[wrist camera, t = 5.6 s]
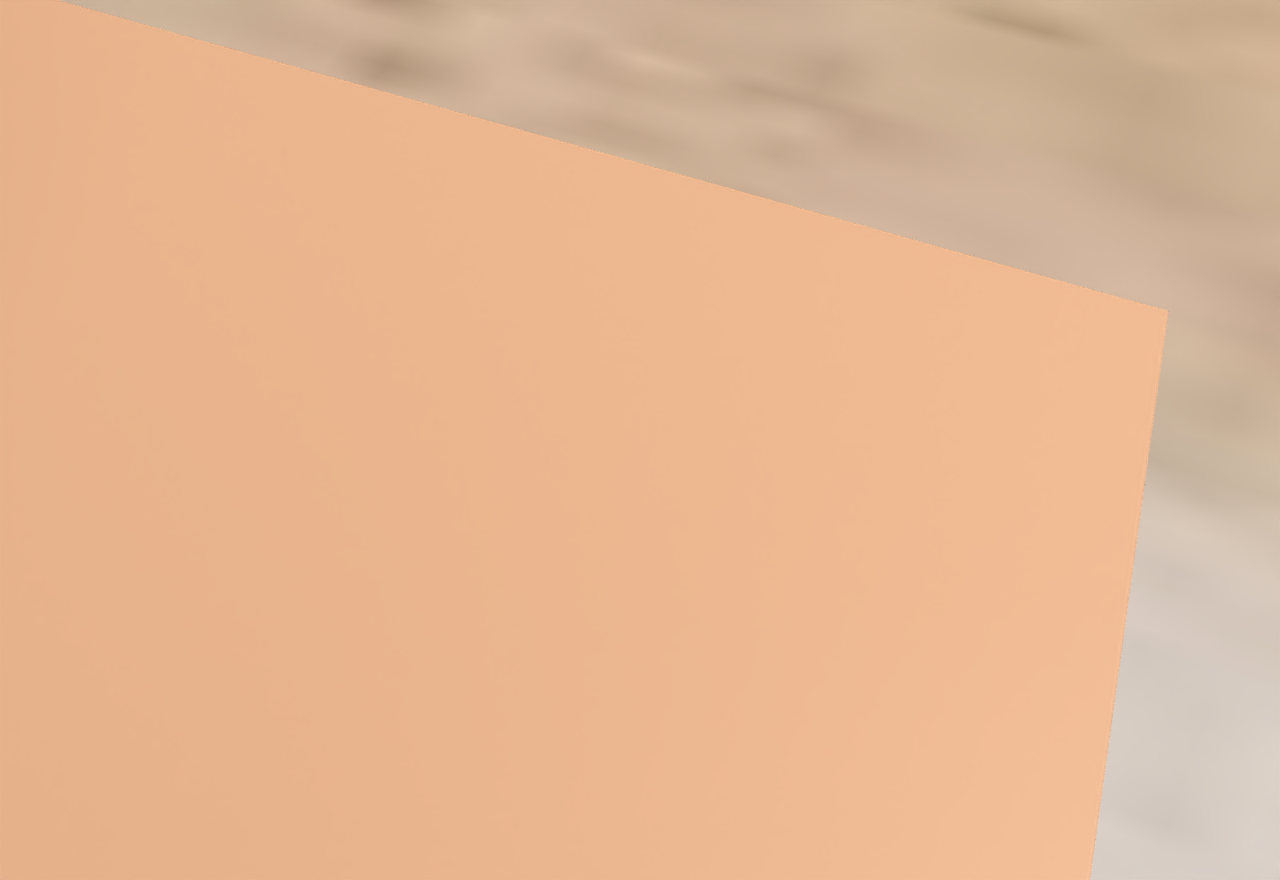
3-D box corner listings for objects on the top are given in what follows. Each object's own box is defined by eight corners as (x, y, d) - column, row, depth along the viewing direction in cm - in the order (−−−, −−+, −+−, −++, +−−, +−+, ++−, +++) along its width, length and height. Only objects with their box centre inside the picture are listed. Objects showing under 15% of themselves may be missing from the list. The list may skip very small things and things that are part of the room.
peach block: (629, 1129, 13) (868, 2468, 2) (239, 1000, 14) (-1298, 1594, 2) (735, 721, 15) (1168, 310, 4) (388, 613, 15) (-123, -50, 4)
